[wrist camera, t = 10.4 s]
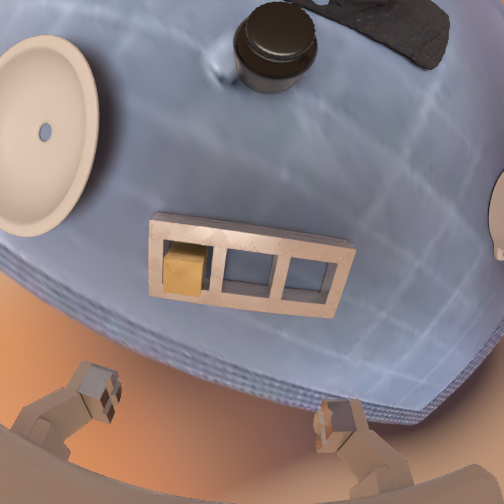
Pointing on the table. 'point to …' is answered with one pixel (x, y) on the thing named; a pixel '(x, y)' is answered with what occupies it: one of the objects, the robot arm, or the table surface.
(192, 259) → the golden yellow block
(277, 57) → the supplement bottle
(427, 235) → the table surface
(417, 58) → the dark slate chunk
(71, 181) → the soup bowl
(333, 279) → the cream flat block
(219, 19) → the table surface
